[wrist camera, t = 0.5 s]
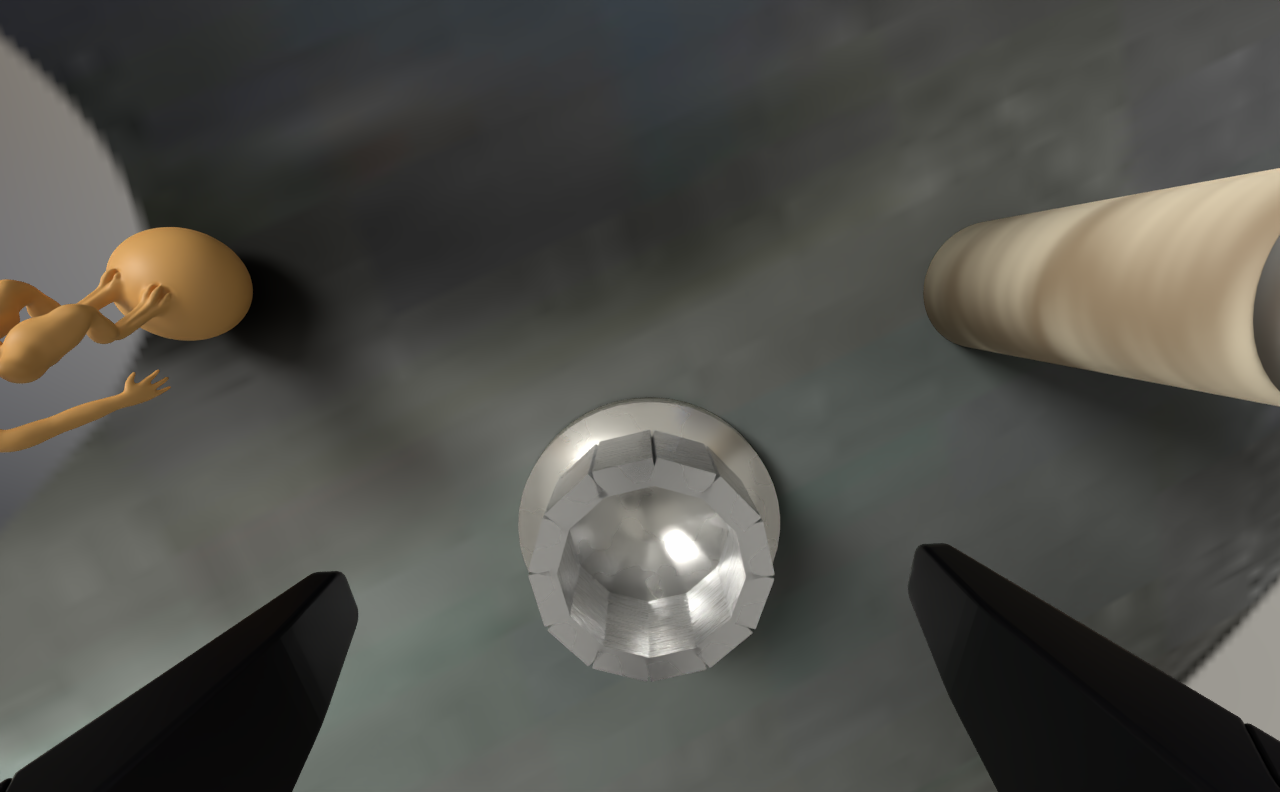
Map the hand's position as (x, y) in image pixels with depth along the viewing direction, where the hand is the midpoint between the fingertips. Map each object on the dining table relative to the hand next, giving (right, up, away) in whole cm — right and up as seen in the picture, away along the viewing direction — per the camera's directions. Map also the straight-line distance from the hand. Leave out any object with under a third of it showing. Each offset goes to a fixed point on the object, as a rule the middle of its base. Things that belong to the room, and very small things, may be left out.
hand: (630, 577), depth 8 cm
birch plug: (+14, +7, +13) cm, 20 cm away
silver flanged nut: (+1, -3, +15) cm, 15 cm away
